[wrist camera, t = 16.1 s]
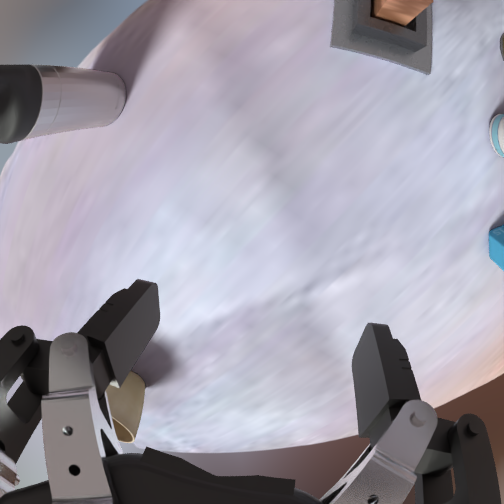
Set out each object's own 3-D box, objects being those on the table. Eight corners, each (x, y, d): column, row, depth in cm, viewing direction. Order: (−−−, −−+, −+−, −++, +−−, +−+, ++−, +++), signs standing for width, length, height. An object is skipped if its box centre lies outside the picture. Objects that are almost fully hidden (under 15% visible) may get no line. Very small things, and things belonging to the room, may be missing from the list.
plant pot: (167, 384, 61) (142, 436, 47) (147, 403, 67) (125, 447, 53) (115, 348, 59) (81, 396, 45) (102, 372, 65) (75, 413, 51)
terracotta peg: (370, 23, 25) (395, -13, 14) (371, 0, 23) (394, -39, 13) (398, 31, 25) (433, 1, 14) (398, 9, 23) (430, -25, 12)
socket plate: (330, 46, 29) (334, 35, 24) (336, -30, 23) (339, -46, 18) (427, 74, 27) (443, 69, 23) (428, -2, 21) (441, -13, 17)
